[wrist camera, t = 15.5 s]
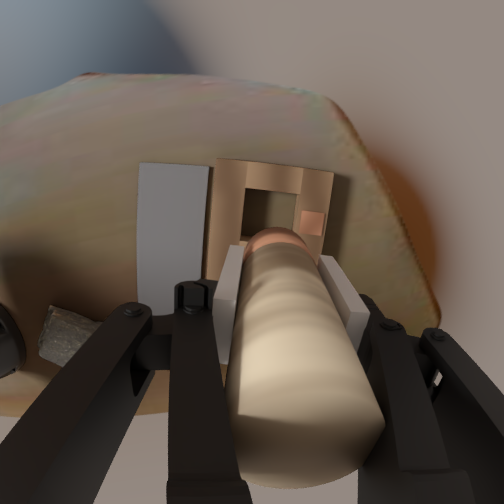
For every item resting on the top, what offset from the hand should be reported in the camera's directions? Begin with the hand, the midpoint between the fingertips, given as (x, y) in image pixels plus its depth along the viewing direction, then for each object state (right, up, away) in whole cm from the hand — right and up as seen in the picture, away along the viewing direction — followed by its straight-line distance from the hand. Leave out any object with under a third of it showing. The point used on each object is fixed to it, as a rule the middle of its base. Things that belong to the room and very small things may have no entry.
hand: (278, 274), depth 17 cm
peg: (0, +1, +2) cm, 3 cm away
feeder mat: (-11, +1, +19) cm, 22 cm away
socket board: (0, 0, +19) cm, 19 cm away
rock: (-25, -10, +23) cm, 36 cm away
